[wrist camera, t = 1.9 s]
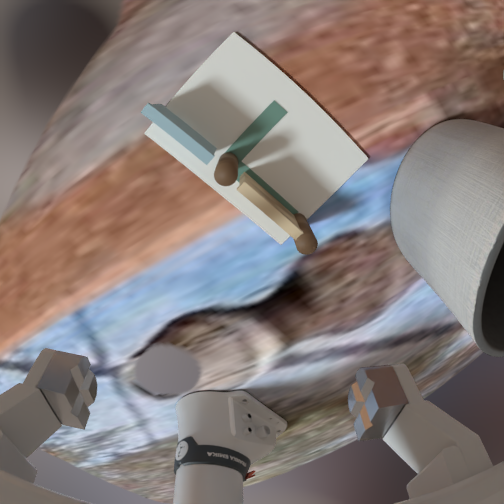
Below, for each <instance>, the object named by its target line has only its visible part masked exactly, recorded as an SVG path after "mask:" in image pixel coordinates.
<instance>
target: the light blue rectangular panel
mask: <svg viewBox="0 0 504 504" xmlns="http://www.w3.org/2000/svg"><path fill="white" fill-rule="evenodd" d="M141 113H142V114H143V115H145V116H146V117H147V118H149V119H150V120H151V121H152V122H154V123H155V124H156V125H157V126H159V127H160V128H161V129H162V130H164V131H165V132H166V133H168V134H169V135H170V136H171V137H173V138H174V139H175V140H176V141H178V142H179V143H180V144H181V145H183V146H184V147H185V148H186V149H187V150H189V151H190V152H191V153H192V154H194V155H195V156H196V157H197V158H199V159H200V160H201V161H202V162H203V163H205V164H206V165H207V164H208V163H209V162H210V161H211V160H212V159H213V158H214V156H215V155H214V153H215V151H216V149H217V148H216V147H215V146H213V145H212V144H211V143H210V142H208V141H207V140H206V139H205V138H204V137H202V136H201V135H200V134H199V133H197V132H196V131H195V130H194V129H192V128H191V127H190V126H189V125H188V124H186V123H185V122H184V121H183V120H181V119H180V118H179V117H178V116H176V115H175V114H174V113H172V112H171V111H170V110H169V109H167V108H166V107H165V106H164V105H162V104H153V105H152V104H150V103H148V104H147V105H146V106H145V107H144V109H143V110H142V111H141Z"/></svg>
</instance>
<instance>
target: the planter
mask: <svg viewBox="0 0 504 504" xmlns="http://www.w3.org/2000/svg"><path fill="white" fill-rule="evenodd" d="M390 218H391V226H392V231H393V235H394V238H395V240H396V243H397V245H398V247H399V249H400V250H401V252H402V254H403V255H404V257H405V258H406V259H407V261H408V262H409V263H410V264H411V265H412V267H413V268H414V269H415V270H416V271H417V272H418V273H419V274H420V276H421V277H422V278H423V279H424V280H425V281H426V282H427V284H428V285H429V286H430V287H431V288H432V289H433V290H434V292H435V293H436V294H437V295H438V296H439V297H440V299H441V300H442V301H443V302H444V303H445V305H446V306H447V307H448V308H449V309H450V311H451V312H452V313H453V314H454V316H455V317H456V318H457V319H458V321H459V322H460V323H461V325H462V326H463V327H464V328H465V330H466V331H467V332H468V334H469V335H470V336H471V338H472V339H473V340H474V342H475V343H476V344H477V346H478V347H479V348H480V349H481V350H482V351H483V352H484V353H486V354H487V355H490V356H494V357H504V128H501V127H497V126H494V125H490V124H486V123H483V122H479V121H474V120H468V119H453V120H448V121H444V122H441V123H439V124H437V125H435V126H433V127H432V128H430V129H429V130H427V131H426V132H425V133H423V134H422V135H421V136H420V137H419V138H418V139H417V140H416V141H415V142H414V144H413V145H412V146H411V148H410V149H409V150H408V152H407V153H406V155H405V157H404V159H403V160H402V162H401V165H400V167H399V169H398V172H397V174H396V177H395V180H394V184H393V188H392V194H391V202H390Z"/></svg>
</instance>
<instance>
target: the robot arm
mask: <svg viewBox="0 0 504 504" xmlns="http://www.w3.org/2000/svg"><path fill="white" fill-rule="evenodd" d="M90 365H91V364H90V362H89V360H88V357H85V356H81V355H76V354H71V353H66V352H62V351H56V350H52V349H47V348H45V349H44V350H42V351H41V353H40V354H39V356H38V358H37V359H36V361H35V363H34V365H33V366H32V368H31V370H30V372H29V373H28V375H27V377H26V379H25V381H24V382H23V384H21V383H19V384H17V385H15V386H14V387H12V388H11V389H9V390H7V391H6V392H4V393H3V394H1V395H0V504H93V503H89V502H85V501H82V500H79V499H75V498H72V497H69V496H66V495H63V494H60V493H57V492H54V491H52V490H49V489H46V488H43V487H41V486H38V485H36V484H34V480H35V477H36V474H37V470H36V467H35V466H34V465H33V464H32V463H31V462H30V461H29V460H28V459H27V457H28V456H29V455H30V454H32V453H33V452H34V451H35V450H36V449H37V448H38V447H39V446H40V445H41V444H42V443H44V442H45V441H46V440H47V439H48V438H49V437H50V436H51V435H52V434H53V433H55V432H56V431H57V430H58V429H59V428H60V427H61V426H62V425H66V426H71V427H75V428H80V429H84V430H85V427H86V424H87V421H88V418H89V415H90V411H89V409H88V406H90V405H91V404H92V403H94V401H95V398H96V395H97V381H96V378H95V375H94V374H93V373H92V372H91V371H90V370H89V367H90ZM355 377H356V380H357V381H356V382H355V383H354V384H352V385H351V387H350V390H349V394H348V405H349V410H350V413H351V414H352V415H353V416H355V417H356V420H355V423H354V427H355V431H356V434H357V438H358V441H364V440H371V439H378V438H383V440H384V441H385V442H386V443H387V444H388V445H389V446H390V447H391V448H392V449H393V450H394V451H395V452H396V453H397V454H398V455H399V456H400V457H401V458H402V459H403V460H404V461H405V462H406V463H407V464H408V465H409V466H410V467H411V468H412V469H413V470H414V471H415V472H416V473H418V475H417V476H416V477H415V478H414V479H412V480H411V481H410V482H409V483H408V485H407V491H408V494H409V498H410V499H409V500H406V501H402V502H399V503H395V504H504V461H503V462H501V463H499V464H497V465H496V466H492V463H491V461H490V459H489V457H488V454H487V452H486V450H485V448H484V446H483V444H482V442H481V440H480V438H479V436H478V435H477V434H475V433H474V432H472V431H471V430H469V429H468V428H467V427H465V426H464V425H462V424H461V423H459V422H458V421H457V420H455V419H454V418H452V417H451V416H449V415H448V414H446V413H445V412H444V411H442V410H441V409H439V408H438V407H436V406H435V405H434V404H432V403H431V402H429V401H424V400H423V398H422V396H421V394H420V391H419V389H418V387H417V385H416V383H415V381H414V379H413V377H412V375H411V373H410V371H409V369H408V367H407V366H406V365H405V364H404V363H403V364H394V365H383V366H373V367H362V368H360V369H359V370H358V371H357V373H356V375H355ZM175 410H176V415H177V421H178V445H177V449H176V455H175V464H174V473H175V474H176V480H175V489H174V499H173V504H243V482H244V481H246V479H248V478H251V477H253V476H255V475H252V474H253V473H254V472H255V471H252V472H249V473H247V472H248V470H249V467H250V465H251V464H253V463H255V462H256V461H258V460H260V459H261V458H263V457H265V456H266V455H268V454H269V453H270V452H271V451H272V450H273V449H274V447H275V444H276V437H278V436H279V435H280V434H282V433H283V432H284V430H285V429H286V427H287V421H285V420H284V419H283V418H281V417H280V416H278V415H277V414H276V413H274V412H273V411H271V410H270V409H269V408H267V407H266V406H265V405H263V404H262V403H260V402H259V401H258V400H256V399H255V398H254V397H252V396H251V395H250V394H248V393H247V392H245V391H232V392H213V391H205V392H196V393H192V394H189V395H187V396H185V397H183V398H181V399H180V400H179V401H178V402H177V404H176V407H175ZM61 424H62V425H61ZM250 475H251V476H250Z"/></svg>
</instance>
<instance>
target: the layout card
mask: <svg viewBox="0 0 504 504" xmlns="http://www.w3.org/2000/svg"><path fill="white" fill-rule="evenodd" d="M166 108H167V109H169V110H170V111H171V112H172V113H174V114H175V115H176V116H178V117H179V118H180V119H181V120H183V121H184V122H185V123H186V124H188V125H189V126H190V127H191V128H192V129H194V130H195V131H196V132H197V133H199V134H200V135H201V136H202V137H204V138H205V139H206V140H207V141H208V142H210V143H211V144H212V145H213V146H215V147H216V148H217V149H216V151H215V153H214V155H215V156H214V158H213V159H212V160H211V161H210V162H209V163H208V164H207V165H206V164H205V163H203V162H202V161H201V160H200V159H199V158H197V157H196V156H195V155H194V154H192V153H191V152H190V151H189V150H187V149H186V148H185V147H184V146H183V145H181V144H180V143H179V142H178V141H176V140H175V139H174V138H173V137H171V136H170V135H169V134H168V133H166V132H165V131H164V130H162V129H161V128H160V127H159V126H157V125H156V124H155V123H154V122H153V123H152V124H151V126H150V127H149V128H148V130H147V131H146V132H145V134H146V135H147V136H148V137H150V138H151V139H152V140H153V141H155V142H156V143H157V144H158V145H160V146H161V147H162V148H163V149H165V150H166V151H167V152H168V153H170V154H171V155H172V156H173V157H175V158H176V159H177V160H178V161H180V162H181V163H182V164H183V165H185V166H186V167H187V168H188V169H190V170H191V171H192V172H193V173H195V174H196V175H197V176H198V177H199V178H201V179H202V180H203V181H204V182H206V183H207V184H208V185H209V186H211V187H212V188H213V189H214V190H215V191H217V192H218V193H219V194H220V195H222V196H223V197H224V198H225V199H226V200H228V201H229V202H230V203H231V204H233V205H234V206H235V207H236V208H237V209H239V210H240V211H241V212H242V213H243V214H245V215H246V216H247V217H248V218H249V219H251V220H252V221H253V222H254V223H255V224H257V225H258V226H259V227H260V228H261V229H263V230H264V231H265V232H266V233H267V234H269V235H270V236H271V237H272V238H273V239H275V240H276V241H277V242H278V243H279V244H281V245H282V244H283V243H284V242H285V241H286V240H287V239H288V238H289V237H290V235H289V234H288V233H287V232H285V231H284V230H283V229H282V228H281V227H280V226H278V225H277V224H276V223H275V222H274V221H273V220H271V219H270V218H269V217H268V216H267V215H266V214H264V213H263V212H262V211H261V210H260V209H259V208H257V207H256V206H255V205H254V204H253V203H252V202H250V201H249V200H248V199H247V198H246V197H244V196H243V195H242V194H241V193H240V192H239V191H237V187H238V186H239V180H240V176H241V175H242V174H243V173H244V172H245V173H247V174H248V175H249V176H250V177H251V178H252V179H254V180H255V181H256V182H257V183H258V184H259V185H260V186H262V187H263V188H264V189H265V190H266V191H267V192H268V193H270V194H271V195H272V196H273V197H274V198H275V199H276V200H278V201H279V202H280V203H281V204H282V205H283V206H284V207H285V208H287V209H288V210H289V211H290V212H291V213H292V214H296V213H301V214H303V215H304V216H305V218H306V220H307V219H308V218H309V217H310V216H311V215H312V214H313V213H314V212H315V211H316V210H317V209H318V208H319V207H320V206H321V205H322V204H323V203H324V202H325V201H326V200H327V199H328V198H330V197H331V196H332V195H333V194H334V193H335V192H336V191H337V190H338V189H339V188H340V187H341V186H342V185H343V184H344V183H345V182H346V181H347V180H348V179H349V178H350V177H351V176H352V175H353V174H354V173H355V172H356V171H357V170H358V169H359V168H360V167H361V166H362V165H363V164H364V163H365V162H366V161H367V160H368V157H367V156H366V155H365V154H364V153H363V152H362V151H361V150H360V148H359V147H358V146H357V145H356V144H355V143H354V142H353V141H352V140H351V139H350V138H349V136H348V135H347V134H346V133H345V132H344V131H343V130H342V129H341V128H340V127H339V126H338V125H337V124H336V123H335V122H334V121H333V120H332V119H331V118H330V117H329V116H328V115H327V114H326V113H325V112H324V111H323V110H322V109H321V108H320V107H319V106H318V105H317V104H316V103H315V102H314V101H313V100H312V99H311V98H310V97H309V96H308V95H307V94H306V93H305V92H304V91H303V90H302V89H301V88H300V87H298V86H297V85H296V84H295V83H294V82H293V81H292V80H291V79H290V78H289V77H288V76H286V75H285V74H284V73H283V72H282V71H281V70H280V69H278V68H277V67H276V66H275V65H274V64H273V63H272V62H270V61H269V60H268V59H267V58H266V57H264V56H263V55H262V54H261V53H260V52H258V51H257V50H256V49H255V48H254V47H252V46H251V45H250V44H249V43H247V42H246V41H245V40H244V39H242V38H241V37H240V36H238V35H237V34H236V33H235V32H233V33H232V34H231V35H230V36H229V37H228V38H227V39H226V40H225V41H224V42H223V43H222V44H221V45H220V46H219V47H218V48H217V49H216V50H215V51H214V52H213V53H212V55H211V56H210V57H209V58H208V59H207V60H206V61H205V62H204V63H203V64H202V65H201V66H200V67H199V68H198V70H197V71H196V72H195V73H194V74H193V75H192V76H191V77H190V78H189V80H188V81H187V82H186V83H185V84H184V85H183V86H182V88H181V89H180V90H179V91H178V92H177V93H176V95H175V96H174V97H173V98H172V99H171V101H170V102H169V103H168V104H167V105H166ZM227 152H230V153H233V154H235V155H236V156H237V158H238V177H237V180H236V182H235V183H234V184H232V185H230V186H222V185H219V184H218V183H217V182H216V180H215V178H214V171H215V169H216V166H217V163H218V160H219V158H220V156H221V155H222V154H224V153H227Z"/></svg>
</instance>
